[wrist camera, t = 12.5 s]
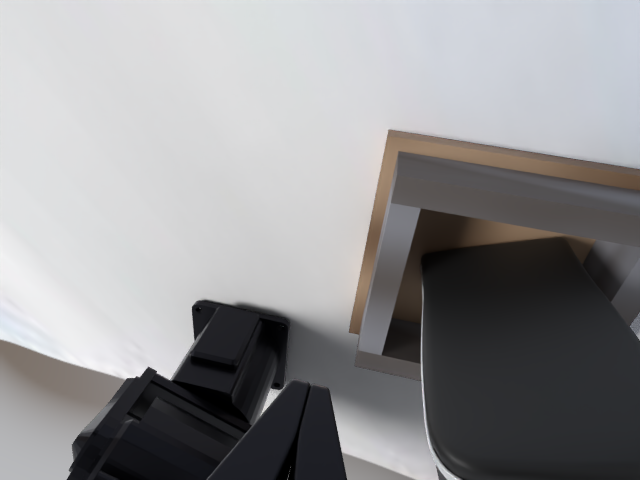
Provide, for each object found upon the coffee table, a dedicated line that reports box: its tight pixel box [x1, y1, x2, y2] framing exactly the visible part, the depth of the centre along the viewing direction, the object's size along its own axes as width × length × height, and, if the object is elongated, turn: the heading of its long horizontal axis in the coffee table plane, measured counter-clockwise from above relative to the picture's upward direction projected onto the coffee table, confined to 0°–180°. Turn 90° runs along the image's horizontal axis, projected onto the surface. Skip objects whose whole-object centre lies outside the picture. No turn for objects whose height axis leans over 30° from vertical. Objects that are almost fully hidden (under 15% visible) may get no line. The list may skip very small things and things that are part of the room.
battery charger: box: [420, 237, 640, 480], centre depth 15 cm, size 7×4×11 cm, turn 104°
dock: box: [349, 130, 640, 381], centre depth 19 cm, size 12×12×4 cm
